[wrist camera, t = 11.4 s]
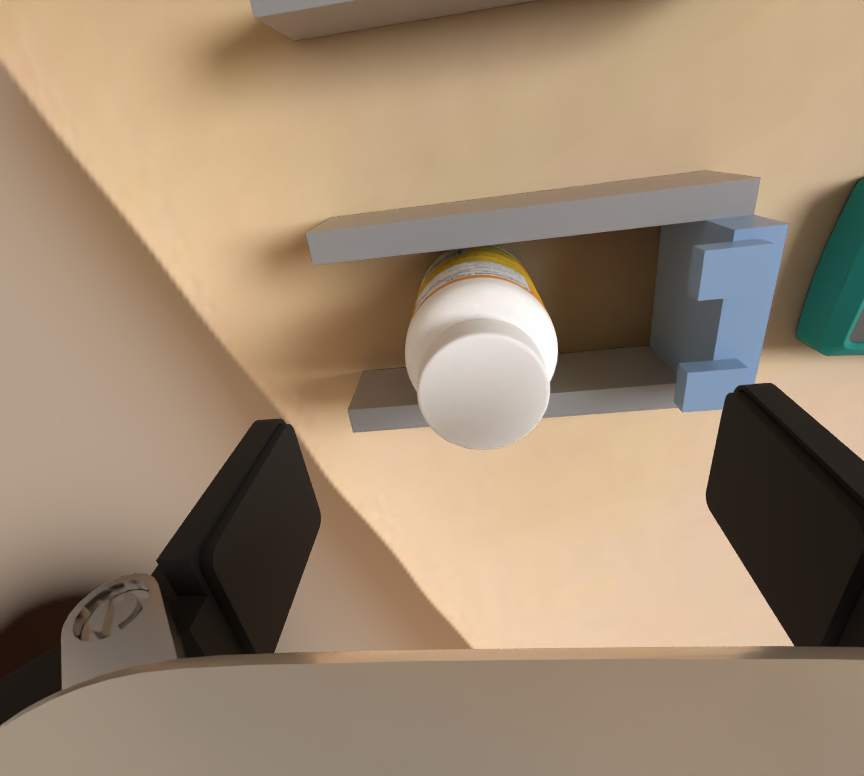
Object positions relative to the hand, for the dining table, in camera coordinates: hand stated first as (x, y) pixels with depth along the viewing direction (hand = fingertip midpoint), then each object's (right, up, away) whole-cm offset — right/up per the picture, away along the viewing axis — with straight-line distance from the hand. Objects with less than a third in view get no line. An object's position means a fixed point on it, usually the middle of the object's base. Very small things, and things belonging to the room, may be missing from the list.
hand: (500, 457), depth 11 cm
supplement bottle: (+1, +6, +12) cm, 14 cm away
